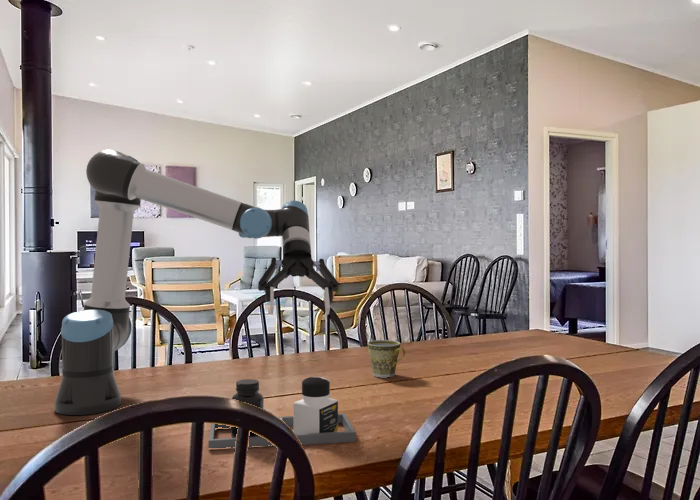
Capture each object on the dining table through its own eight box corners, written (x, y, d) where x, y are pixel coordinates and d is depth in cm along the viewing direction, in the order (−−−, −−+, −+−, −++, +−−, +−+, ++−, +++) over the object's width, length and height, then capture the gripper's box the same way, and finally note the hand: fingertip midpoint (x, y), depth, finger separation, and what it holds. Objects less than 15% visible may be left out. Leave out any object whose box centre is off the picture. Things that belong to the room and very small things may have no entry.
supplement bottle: (256, 444, 123) (256, 386, 123) (225, 441, 124) (225, 384, 124) (268, 433, 130) (267, 378, 129) (238, 430, 131) (238, 376, 131)
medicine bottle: (319, 441, 125) (319, 384, 125) (292, 434, 129) (292, 379, 128) (338, 431, 131) (338, 377, 131) (312, 425, 135) (312, 373, 134)
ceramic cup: (360, 375, 182) (360, 342, 181) (381, 370, 189) (381, 338, 189) (393, 383, 173) (394, 348, 172) (414, 376, 180) (414, 344, 180)
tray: (208, 450, 119) (208, 440, 119) (211, 429, 132) (211, 420, 132) (355, 441, 125) (355, 432, 125) (344, 421, 138) (344, 413, 137)
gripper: (340, 258, 164) (348, 320, 150) (249, 256, 160) (247, 320, 146) (344, 239, 159) (352, 302, 144) (249, 236, 154) (248, 301, 140)
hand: (300, 311), depth 145 cm, fingers open, 13 cm apart
